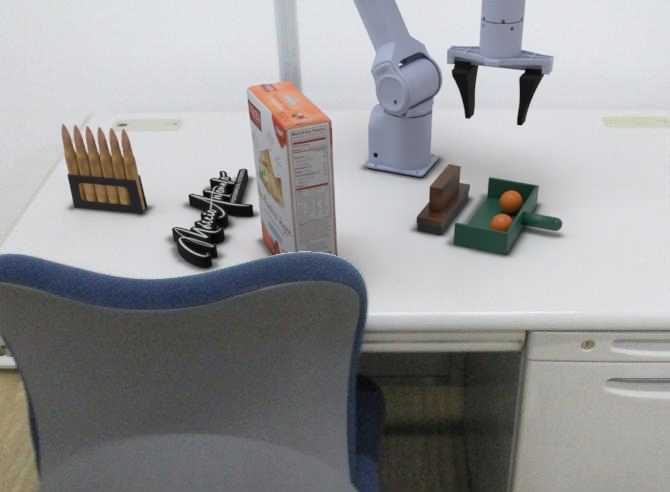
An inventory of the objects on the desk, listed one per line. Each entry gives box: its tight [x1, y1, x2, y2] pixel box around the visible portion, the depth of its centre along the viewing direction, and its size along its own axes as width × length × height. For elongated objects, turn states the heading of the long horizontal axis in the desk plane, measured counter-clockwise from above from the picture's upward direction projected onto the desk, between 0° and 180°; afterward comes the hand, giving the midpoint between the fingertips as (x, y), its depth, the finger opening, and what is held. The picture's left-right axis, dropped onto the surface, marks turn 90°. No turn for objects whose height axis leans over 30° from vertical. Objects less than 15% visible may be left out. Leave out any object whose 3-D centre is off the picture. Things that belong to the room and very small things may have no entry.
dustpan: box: [453, 176, 563, 255], centre depth 115 cm, size 13×16×3 cm
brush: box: [416, 163, 471, 235], centre depth 117 cm, size 4×13×6 cm, turn 157°
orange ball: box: [500, 191, 522, 214], centre depth 118 cm, size 3×3×3 cm
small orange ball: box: [490, 214, 513, 232], centre depth 113 cm, size 3×3×3 cm
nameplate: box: [171, 168, 254, 269], centre depth 117 cm, size 28×2×10 cm
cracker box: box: [246, 80, 338, 256], centre depth 102 cm, size 14×6×21 cm, turn 24°
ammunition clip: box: [60, 123, 149, 215], centre depth 117 cm, size 11×2×12 cm, turn 79°
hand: (495, 119), depth 119 cm, fingers open, 7 cm apart
